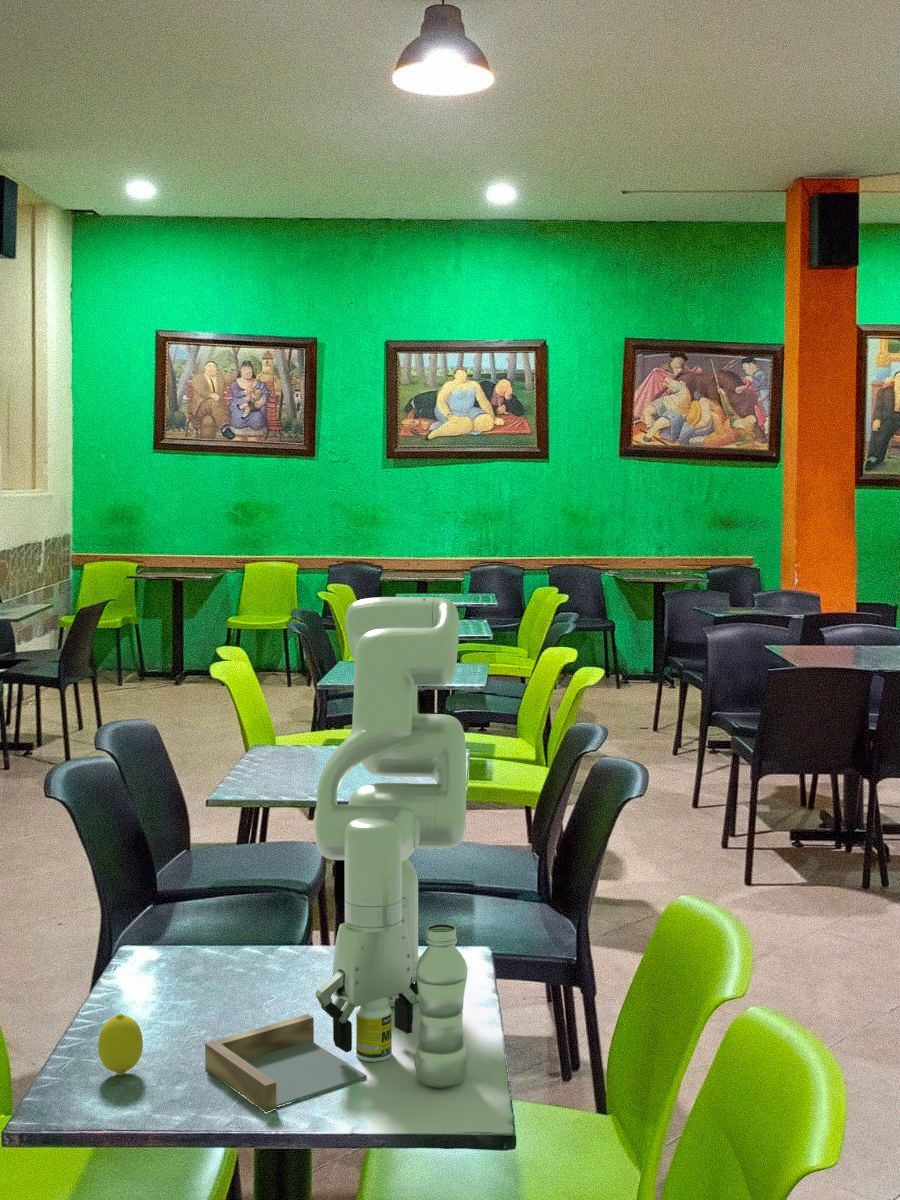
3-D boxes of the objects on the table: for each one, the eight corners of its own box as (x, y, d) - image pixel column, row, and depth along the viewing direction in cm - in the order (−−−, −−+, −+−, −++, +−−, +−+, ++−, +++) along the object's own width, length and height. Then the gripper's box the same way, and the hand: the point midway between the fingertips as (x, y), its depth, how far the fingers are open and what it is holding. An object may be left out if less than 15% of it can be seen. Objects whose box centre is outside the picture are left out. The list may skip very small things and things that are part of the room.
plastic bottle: (406, 1077, 165) (406, 924, 164) (454, 1067, 168) (454, 917, 167) (426, 1098, 159) (426, 939, 158) (476, 1088, 162) (476, 932, 161)
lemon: (90, 1081, 164) (89, 1020, 163) (113, 1063, 169) (111, 1003, 169) (129, 1086, 163) (128, 1024, 162) (151, 1068, 168) (150, 1008, 167)
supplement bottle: (386, 1064, 169) (386, 1001, 168) (351, 1061, 170) (351, 998, 169) (395, 1049, 174) (395, 988, 173) (361, 1046, 175) (361, 985, 174)
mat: (310, 1043, 175) (310, 1040, 175) (366, 1078, 165) (366, 1075, 165) (221, 1070, 167) (221, 1067, 167) (274, 1108, 157) (274, 1105, 157)
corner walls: (307, 1038, 177) (307, 1014, 177) (372, 1078, 165) (372, 1052, 165) (205, 1069, 167) (205, 1043, 167) (265, 1113, 155) (265, 1085, 155)
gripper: (409, 894, 179) (409, 1015, 180) (302, 918, 168) (302, 1046, 169) (442, 907, 173) (442, 1032, 174) (333, 932, 162) (334, 1065, 163)
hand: (373, 1039), depth 171 cm, fingers open, 9 cm apart
